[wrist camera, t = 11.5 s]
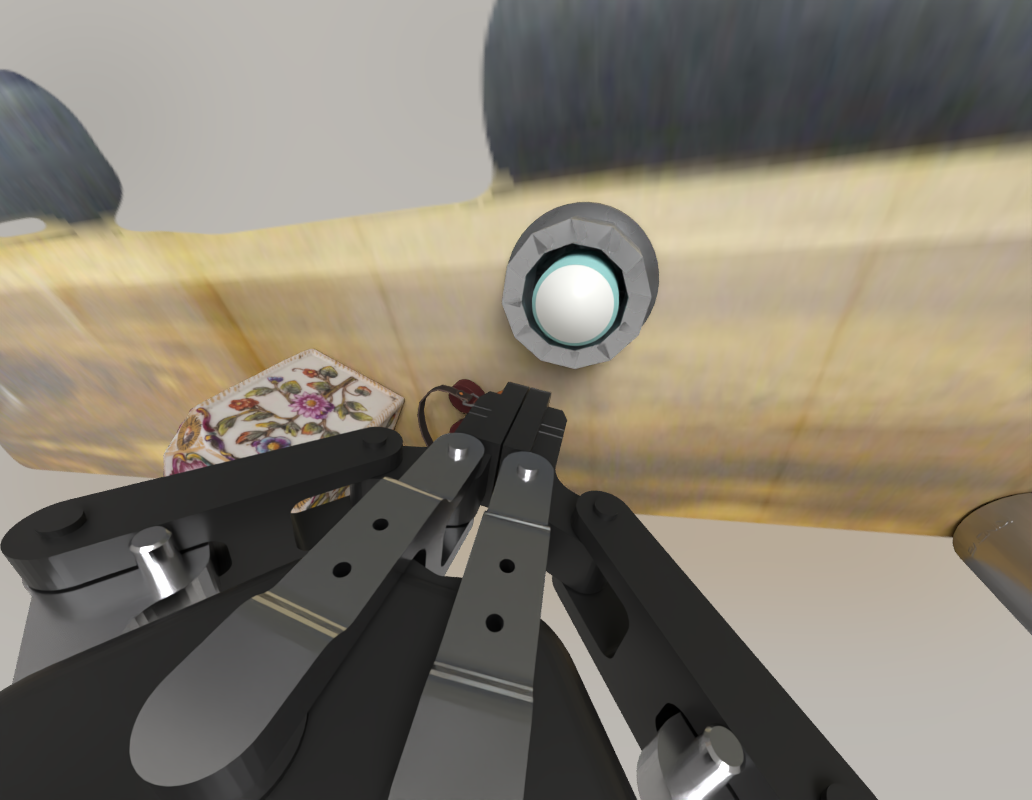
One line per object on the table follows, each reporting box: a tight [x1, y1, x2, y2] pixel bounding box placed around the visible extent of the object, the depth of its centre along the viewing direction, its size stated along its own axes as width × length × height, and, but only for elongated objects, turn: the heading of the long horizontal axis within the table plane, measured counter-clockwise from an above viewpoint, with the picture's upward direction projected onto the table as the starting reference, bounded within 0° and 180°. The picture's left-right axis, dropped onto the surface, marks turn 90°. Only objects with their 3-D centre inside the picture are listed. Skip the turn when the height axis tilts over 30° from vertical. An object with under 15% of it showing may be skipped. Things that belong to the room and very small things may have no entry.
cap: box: [532, 249, 619, 346], centre depth 28 cm, size 6×6×6 cm
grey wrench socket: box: [502, 202, 659, 369], centre depth 29 cm, size 12×12×5 cm
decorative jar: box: [163, 349, 404, 513], centre depth 36 cm, size 12×12×18 cm
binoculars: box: [417, 379, 502, 447], centre depth 36 cm, size 9×11×10 cm
